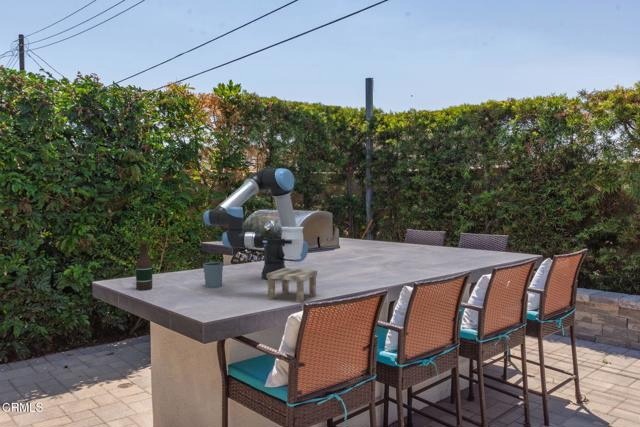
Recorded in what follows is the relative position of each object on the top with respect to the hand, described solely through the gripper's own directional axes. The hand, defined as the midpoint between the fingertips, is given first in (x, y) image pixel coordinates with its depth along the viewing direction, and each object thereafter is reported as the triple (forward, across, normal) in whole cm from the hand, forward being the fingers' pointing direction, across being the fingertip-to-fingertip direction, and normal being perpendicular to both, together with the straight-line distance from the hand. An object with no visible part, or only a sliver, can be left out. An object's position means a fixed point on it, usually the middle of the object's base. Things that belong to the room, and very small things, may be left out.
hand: (301, 240), depth 228 cm
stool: (-4, 0, -27) cm, 27 cm away
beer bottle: (-83, -9, -27) cm, 87 cm away
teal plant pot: (-50, -21, -27) cm, 61 cm away
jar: (-4, 0, -9) cm, 10 cm away
